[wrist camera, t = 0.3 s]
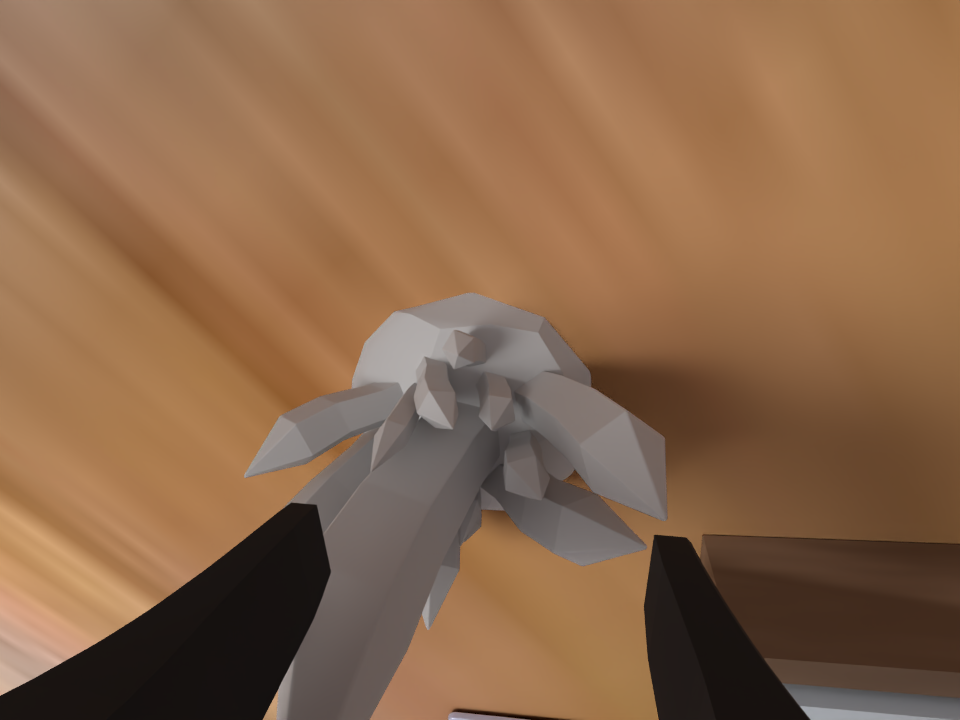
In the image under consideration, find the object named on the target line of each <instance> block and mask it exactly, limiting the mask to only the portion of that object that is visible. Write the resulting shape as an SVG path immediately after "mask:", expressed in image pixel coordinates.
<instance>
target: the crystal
mask: <svg viewBox="0 0 960 720" xmlns="http://www.w3.org/2000/svg"><path fill="white" fill-rule="evenodd" d="M361 433H363V434H362V435H361V436H360V437H359V438H358V439H357V440H356V442H355V443H354V444H353V445H352V446H351V447H349V448H348V449H347V450H346V451H345V452H344V453H342V454H341V455H340V456H339V457H338V458H337V459H335V460H334V461H333V462H332V463H331V464H329V465H328V466H327V467H326V468H325V469H324V470H322V471H321V472H320V473H319V474H318V475H317V476H315V477H314V478H313V479H312V480H311V481H310V482H309V483H308V484H307V485H306V486H305V487H304V488H303V489H302V490H301V491H300V492H299V493H298V494H297V495H296V496H295V497H294V498H293V499H292V500H291V501H290V502H289V503H288V504H287V505H289V504H290V503H291V502H292V503H303V504H315V505H317V507H318V512H319V517H320V522H321V526H322V531H323V536H324V540H325V545H326V550H327V555H328V559H329V564H330V569H331V574H330V577H329V580H328V583H327V585H326V588H325V591H324V594H323V597H322V599H321V602H320V605H319V607H318V610H317V612H316V615H315V618H314V620H313V622H312V624H311V626H310V628H309V630H308V632H307V634H306V636H305V638H304V640H303V642H302V644H301V646H300V648H299V650H298V652H297V654H296V655H295V657H294V659H293V661H292V663H291V665H290V667H289V669H288V671H287V673H286V675H285V677H284V679H283V681H282V683H281V685H280V687H279V691H278V706H277V720H370V718H371V716H372V714H373V712H374V710H375V709H376V707H377V705H378V703H379V701H380V699H381V698H382V696H383V694H384V692H385V690H386V688H387V687H388V685H389V683H390V681H391V679H392V677H393V676H394V674H395V672H396V670H397V668H398V666H399V665H400V663H401V661H402V659H403V657H404V655H405V654H406V652H407V650H408V647H409V645H410V642H411V640H412V637H413V635H414V632H415V630H416V627H417V625H418V622H419V620H420V617H421V614H422V616H423V619H424V622H425V625H426V628H427V629H428V630H429V629H430V627H431V625H432V623H433V621H434V619H435V617H436V615H437V613H438V611H439V609H440V607H441V605H442V603H443V601H444V599H445V597H446V595H447V593H448V591H449V589H450V587H451V585H452V583H453V581H454V579H455V577H456V575H457V573H458V571H459V568H460V546H461V545H462V543H463V542H465V541H466V540H467V539H469V538H470V537H471V536H472V535H473V534H474V533H475V532H476V531H477V530H478V529H479V528H480V527H481V518H482V514H481V509H482V510H505V511H506V513H507V514H508V515H509V517H510V518H511V519H512V521H513V522H514V523H515V524H516V526H517V527H518V528H519V530H520V531H521V532H523V533H524V534H526V535H527V536H529V537H530V538H532V539H533V540H535V541H536V542H538V543H539V544H541V545H542V546H544V547H545V548H547V549H548V550H550V551H551V552H553V553H554V554H556V555H558V556H561V557H563V558H565V559H567V560H570V561H572V562H574V563H576V564H578V565H581V566H586V565H589V564H593V563H597V562H600V561H604V560H608V559H611V558H615V557H619V556H622V555H626V554H630V553H634V552H637V551H641V550H645V549H646V548H647V546H646V544H645V543H644V542H643V541H642V540H641V539H640V538H639V537H638V536H637V535H636V534H635V533H634V532H633V531H632V530H631V529H630V528H629V527H628V526H627V525H626V524H625V523H624V521H623V520H622V519H621V518H620V517H619V516H618V515H617V514H616V513H615V512H614V511H613V510H612V509H611V508H610V507H609V506H608V505H607V504H606V503H605V502H604V501H603V500H602V499H601V498H600V497H599V496H598V495H601V496H603V497H606V498H608V499H611V500H613V501H616V502H618V503H620V504H623V505H625V506H628V507H630V508H633V509H635V510H638V511H640V512H642V513H645V514H647V515H650V516H652V517H655V518H657V519H660V520H662V521H666V520H667V518H668V517H667V489H666V455H665V438H664V436H662V435H661V434H660V433H658V432H657V431H655V430H654V429H653V428H651V427H650V426H648V425H647V424H646V423H644V422H643V421H642V420H640V419H639V418H637V417H636V416H635V415H633V414H632V413H630V412H629V411H628V410H626V409H625V408H623V407H622V406H620V405H619V404H617V403H616V402H614V401H613V400H611V399H610V398H608V397H607V396H605V395H604V394H602V393H601V392H599V391H598V390H596V389H594V388H591V374H590V371H589V370H588V369H587V367H586V366H585V365H584V364H583V363H582V361H581V360H580V359H579V358H578V357H577V355H576V354H575V353H574V352H573V351H572V350H571V348H570V347H569V346H568V345H567V344H566V342H565V341H564V340H563V339H562V338H561V337H560V335H559V334H558V333H557V332H556V331H555V329H554V328H553V327H552V326H551V325H550V323H549V322H548V321H547V320H546V319H545V317H542V316H539V315H536V314H533V313H530V312H527V311H524V310H522V309H519V308H516V307H513V306H510V305H507V304H504V303H502V302H499V301H496V300H493V299H490V298H487V297H484V296H482V295H479V294H476V293H466V294H463V295H459V296H455V297H451V298H447V299H443V300H440V301H436V302H432V303H428V304H424V305H421V306H417V307H412V308H408V309H403V310H399V311H394V312H393V313H392V314H391V316H390V317H389V318H388V319H387V320H386V321H385V322H384V323H383V324H382V325H381V326H380V327H379V328H378V329H377V330H376V331H375V332H374V333H373V334H372V335H371V336H370V337H369V339H368V340H367V341H366V342H365V344H364V347H363V350H362V353H361V356H360V359H359V361H358V364H357V367H356V370H355V373H354V376H353V379H352V389H348V390H344V391H340V392H336V393H332V394H328V395H324V396H320V397H318V398H316V399H314V400H312V401H310V402H307V403H305V404H303V405H301V406H299V407H297V408H295V409H293V410H291V411H289V412H287V413H285V414H282V415H281V416H280V417H279V418H278V420H277V422H276V423H275V425H274V427H273V428H272V430H271V432H270V433H269V435H268V437H267V438H266V440H265V441H264V443H263V445H262V446H261V448H260V450H259V451H258V453H257V455H256V456H255V458H254V460H253V461H252V463H251V465H250V466H249V468H248V470H247V471H246V473H245V475H244V477H245V478H247V477H251V476H255V475H260V474H264V473H268V472H273V471H277V470H282V469H286V468H290V467H295V466H299V465H304V464H307V463H308V462H310V461H312V460H313V459H315V458H316V457H318V456H320V455H321V454H323V453H324V452H326V451H328V450H329V449H331V448H332V447H334V446H336V445H337V444H339V443H340V442H342V441H343V440H346V439H348V438H351V437H353V436H356V435H359V434H361ZM574 470H576V471H577V472H578V474H579V475H580V476H581V477H582V479H583V480H584V481H585V483H586V484H587V485H588V486H589V488H590V489H591V490H592V492H594V493H592V492H589V491H587V490H584V489H582V488H579V487H576V486H574V485H571V484H569V483H566V482H563V480H564V479H566V478H567V477H569V476H570V475H571V474H572V473H573V471H574ZM595 493H596V494H595ZM597 494H598V495H597ZM287 505H286V506H287ZM286 506H285V507H286ZM285 507H284V508H285Z"/></svg>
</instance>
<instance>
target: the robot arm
mask: <svg viewBox="0 0 960 720" xmlns="http://www.w3.org/2000/svg"><path fill="white" fill-rule="evenodd" d="M330 574H331V569H330V564H329V559H328V555H327V550H326V545H325V540H324V536H323V531H322V526H321V522H320V517H319V512H318V507H317V505H315V504H303V503H292V502H291V503H290V504H289V505H287V506H286V507H285V508H283V509H282V510H281V511H279V512H278V513H277V514H276V515H274V516H273V517H272V518H270V519H269V520H268V521H267V522H265V523H264V524H263V525H262V526H260V527H259V528H258V529H257V530H255V531H254V532H253V533H252V534H250V535H249V536H248V537H247V538H245V539H244V540H243V541H242V542H240V543H239V544H238V545H237V546H235V547H234V548H233V549H231V550H230V551H229V552H228V553H226V554H225V555H224V556H222V557H221V558H220V559H219V560H217V561H216V562H215V563H213V564H212V565H211V566H210V567H208V568H207V569H206V570H204V571H203V572H202V573H200V574H199V575H197V576H196V577H195V578H193V579H192V580H191V581H189V582H188V583H186V584H185V585H184V586H182V587H181V588H179V589H178V590H177V591H175V592H174V593H173V594H171V595H170V596H168V597H167V598H166V599H164V600H163V601H161V602H160V603H159V604H157V605H156V606H154V607H153V608H151V609H150V610H148V611H147V612H145V613H144V614H142V615H141V616H139V617H138V618H136V619H135V620H133V621H132V622H130V623H129V624H127V625H125V626H124V627H122V628H121V629H119V630H117V631H116V632H114V633H113V634H111V635H109V636H108V637H106V638H105V639H103V640H101V641H100V642H98V643H96V644H95V645H93V646H91V647H89V648H88V649H86V650H84V651H82V652H81V653H79V654H77V655H75V656H73V657H72V658H70V659H68V660H66V661H64V662H63V663H61V664H59V665H57V666H56V667H54V668H52V669H50V670H48V671H47V672H45V673H43V674H41V675H39V676H38V677H36V678H34V679H32V680H30V681H28V682H26V683H25V684H23V685H21V686H19V687H17V688H15V689H13V690H11V691H9V692H7V693H5V694H3V695H1V696H0V720H263V718H264V716H265V714H266V712H267V710H268V708H269V706H270V704H271V702H272V700H273V698H274V696H275V694H276V692H277V690H278V689H279V687H280V685H281V683H282V681H283V679H284V677H285V675H286V673H287V671H288V669H289V667H290V665H291V663H292V661H293V659H294V657H295V655H296V654H297V652H298V650H299V648H300V646H301V644H302V642H303V640H304V638H305V636H306V634H307V632H308V630H309V628H310V626H311V624H312V622H313V620H314V618H315V615H316V612H317V610H318V607H319V605H320V602H321V599H322V597H323V594H324V591H325V588H326V585H327V583H328V580H329V577H330ZM644 613H645V627H646V640H647V653H648V661H649V667H650V673H651V679H652V684H653V690H654V695H655V701H656V706H657V712H658V717H659V720H811V719H810V718H809V717H808V716H807V715H806V713H805V712H804V711H803V710H802V708H801V707H800V706H799V705H798V703H797V702H796V701H795V699H794V698H793V697H792V696H791V694H790V693H789V692H788V690H787V689H786V688H785V687H784V685H783V684H782V682H781V681H780V680H779V678H778V677H777V676H776V674H775V673H774V672H773V670H772V669H771V668H770V666H769V665H768V664H767V662H766V661H765V660H764V658H763V657H762V655H761V654H760V652H759V651H758V650H757V648H756V647H755V645H754V644H753V643H752V641H751V640H750V638H749V637H748V635H747V634H746V632H745V631H744V629H743V628H742V626H741V625H740V623H739V622H738V620H737V619H736V617H735V616H734V614H733V613H732V611H731V610H730V608H729V607H728V605H727V604H726V602H725V600H724V599H723V597H722V596H721V594H720V592H719V591H718V589H717V587H716V586H715V584H714V582H713V581H712V579H711V577H710V576H709V574H708V572H707V571H706V569H705V567H704V565H703V564H702V562H701V560H700V558H699V557H698V555H697V553H696V551H695V549H694V547H693V545H692V544H691V542H690V541H689V540H688V539H687V538H685V537H674V536H663V535H654V540H653V547H652V554H651V561H650V568H649V575H648V582H647V589H646V596H645V603H644ZM448 720H529V719H519V718H510V717H500V716H490V715H481V714H471V713H461V712H452V713H450V714H449V717H448Z"/></svg>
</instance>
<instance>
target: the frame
mask: <svg viewBox="0 0 960 720" xmlns="http://www.w3.org/2000/svg"><path fill="white" fill-rule="evenodd" d="M700 560H701V562H702V564H703V565H704V567H705V569H706V571H707V572H708V574H709V576H710V577H711V579H712V581H713V582H714V584H715V586H716V587H717V589H718V591H719V592H720V594H721V596H722V597H723V599H724V600H725V602H726V604H727V605H728V607H729V608H730V610H731V611H732V613H733V614H734V616H735V617H736V619H737V620H738V622H739V623H740V625H741V626H742V628H743V629H744V631H745V632H746V634H747V635H748V637H749V638H750V640H751V641H752V643H753V644H754V645H755V647H756V648H757V650H758V651H759V652H760V654H761V655H762V657H763V658H764V660H765V661H766V662H767V664H768V665H769V666H770V668H771V669H772V670H773V672H774V673H775V674H776V676H777V677H778V678H779V680H780V681H781V682H782V683H785V684H797V685H809V686H821V687H833V688H845V689H857V690H869V691H881V692H893V693H905V694H917V695H929V696H941V697H953V698H960V545H958V544H931V543H904V542H877V541H850V540H823V539H797V538H770V537H743V536H716V535H703V536H702V547H701V557H700Z"/></svg>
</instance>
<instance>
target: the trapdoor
mask: <svg viewBox="0 0 960 720" xmlns="http://www.w3.org/2000/svg"><path fill="white" fill-rule="evenodd" d="M782 684H783V685H784V687H785V688H786V689H787V690H788V692H789V693H790V694H791V696H792V697H793V698H794V699H795V701H796V702H797V703H798V705H799V706H800V707H801V708H802V710H803V711H804V712H805V713H806V715H807V716H808V717H809V718H810V719H811V720H960V698H953V697H941V696H929V695H917V694H905V693H893V692H881V691H869V690H857V689H845V688H833V687H821V686H809V685H797V684H785V683H782Z"/></svg>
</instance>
